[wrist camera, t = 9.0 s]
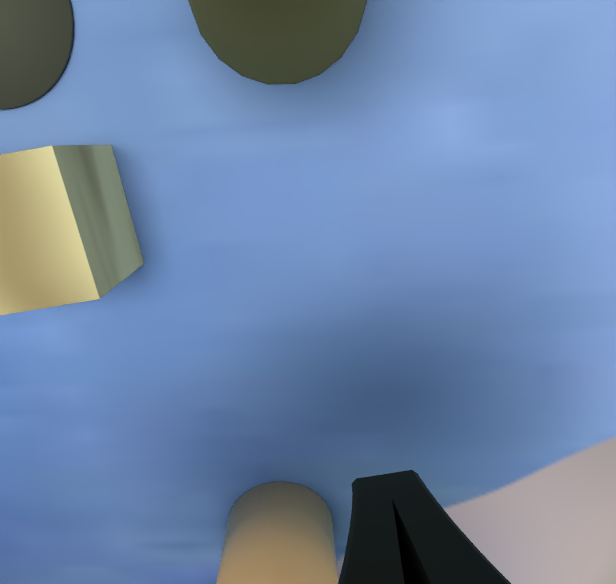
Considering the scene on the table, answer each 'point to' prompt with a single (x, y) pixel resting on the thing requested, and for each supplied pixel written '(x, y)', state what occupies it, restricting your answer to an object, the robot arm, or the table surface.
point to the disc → (32, 48)
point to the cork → (278, 35)
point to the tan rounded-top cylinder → (279, 538)
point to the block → (63, 227)
